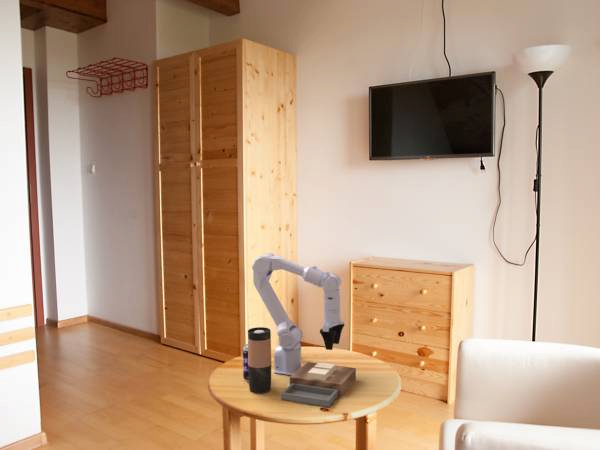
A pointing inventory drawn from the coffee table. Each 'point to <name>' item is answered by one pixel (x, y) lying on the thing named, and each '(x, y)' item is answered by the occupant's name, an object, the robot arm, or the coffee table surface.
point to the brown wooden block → (336, 380)
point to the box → (309, 395)
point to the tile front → (318, 374)
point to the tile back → (326, 366)
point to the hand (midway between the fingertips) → (332, 346)
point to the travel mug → (259, 359)
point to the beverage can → (245, 363)
